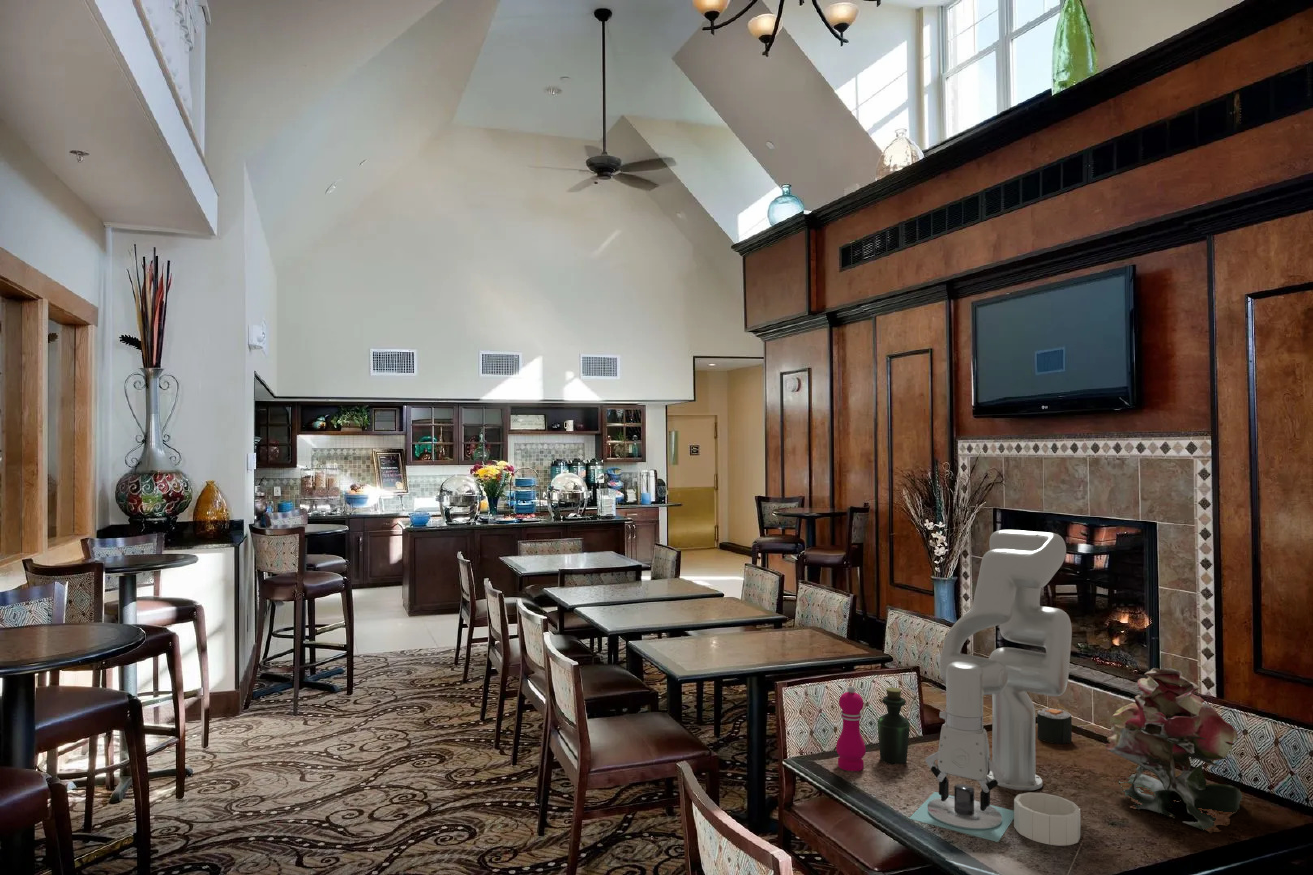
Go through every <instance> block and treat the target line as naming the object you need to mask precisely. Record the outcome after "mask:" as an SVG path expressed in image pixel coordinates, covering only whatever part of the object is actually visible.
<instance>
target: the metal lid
mask: <svg viewBox="0 0 1313 875" xmlns="http://www.w3.org/2000/svg"><path fill="white" fill-rule="evenodd" d="M953 796H954V797H948V798H947V799H946V800H945V801H941V798H938V799H934V800H932V801H930V802H929V803H928V813H929V815H930V816H931V817H933V818H934V819H935V820H937V821H939V822H941V823H943V824H946V825H949V826H952V827H956V828H960V829H966V830H990V829H994V828H996V827H998V826H1000V825H1001V823H1002V816H1001V814H1000V812H999V811H997V810H996V809H995V808H993V807H991V806H989V807H987V808H986V809H985V811H981V810H980V801H978V800H975V788H974V787H973V786H971V785H968V784H963V783H961V784H960V783H958V784H955V785H954V795H953Z"/></svg>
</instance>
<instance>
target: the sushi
mask: <svg viewBox="0 0 1313 875" xmlns="http://www.w3.org/2000/svg"><path fill="white" fill-rule="evenodd" d="M1036 712H1037V720H1036V721H1037V734H1036V735H1037V736H1036V737H1037V739H1038V740H1039V741H1043V740H1045V741H1044V742H1046V741H1047V742H1046V743H1049V742H1051V743H1050V744H1054V743H1057V744H1056V745H1060V744H1061V745H1064V744H1070V743H1072V742H1073V741H1072V740H1073V739H1072V737H1073V735H1072V734H1073V731H1072V729H1073V728H1072V726H1073V725H1072V724H1073V722H1072V721H1073V720H1072V718H1073V717H1072V714H1071V713H1069V712H1067V711H1066V710H1063V709H1062V708H1060V709H1058V708H1057V709H1056V708H1050V707H1049V708H1042V710H1040V709H1038V710H1036Z"/></svg>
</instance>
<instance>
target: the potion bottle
mask: <svg viewBox="0 0 1313 875" xmlns="http://www.w3.org/2000/svg"><path fill="white" fill-rule="evenodd" d="M885 689H886V690H885V691H886V694H887V695H885V696H883V697H882V699H881V700H882V701H881V703H882V704H883V705H885V706H886V709H887V713H885V714H883V715H881V716H879V717H878V719H877V722H876V723H877V736H878V746H879V747H878V748H879V758H880V760H881V761H882V762H883V763H886V764H888V765H892V766H893V765H894V766H895V765H900V764H901V765H902V764H906V763H907V761H908V760H907V759H908V751H909V750H908V749H909V740H910V739H909V738H910V731H911V730H910V728H911V724H910V723H911V722H910V721H909V720H908V718H906V717H905V716H903V715H902V714H900V713H901V709H902V707H903V706H906V705H907V704H906V700H905V699H904V698H903V697H901V695H902V689H901V688H897V687H886V688H885Z"/></svg>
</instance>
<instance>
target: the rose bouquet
mask: <svg viewBox="0 0 1313 875" xmlns="http://www.w3.org/2000/svg"><path fill="white" fill-rule="evenodd" d="M1182 674H1183V673H1182V671H1181V670H1178V669H1174V668H1167V667H1165V668H1159V667H1153V668H1151V669H1150V670H1149V671H1146V672H1145V673H1144V675H1145V676H1147V677H1142V678H1139V679H1138V680H1137V687H1138V688H1137V689H1138V690H1140V691H1142V695H1141V694H1138V695H1136V696H1134V702H1131V703H1128V704H1126V705H1124V706H1122V707H1120V708H1119V709H1117V710H1115V712H1114V714H1112V715H1111V716H1110V718H1109V721H1110V723H1113V726H1112V727H1111V729H1110V732H1111V734H1113V735H1111V736H1109V737H1107V738H1106V740H1107V741H1108V743H1105V745H1104V747H1105V749H1106V751H1108V752H1111V753H1112V754H1115V755H1117V756H1119V757H1121V758H1123V759H1125V760H1127V761H1129V762H1132V763H1133V764H1136V765H1138V766H1137V767H1136V768H1135V771H1136V773H1134V774H1133V773H1132V774H1131V775H1130V776H1129V777H1127V778H1128V779H1130V780H1129V781H1128V782H1127V783H1130V784H1132V786H1131V787H1130V788H1129V789H1126V790H1124V791H1122V790H1121V793H1122V792H1125V796H1130V797H1132V798H1133V799H1135V800H1138V802H1140V803H1142V805H1139V804H1136V803H1134V804H1135V805H1134V806H1136V809H1138V810H1148V811H1151V812H1154V813H1156V814H1160V813H1161V814H1160V815H1162V814H1164V815H1163V816H1165V815H1167V816H1166V817H1168V816H1169V815H1172V817H1177V816H1176V814H1173V813H1171V812H1170V811H1168V810H1167V808H1168V809H1172V808H1171V807H1173V808H1174V805H1175V802H1174V801H1173V800H1176V801H1180V800H1181V803H1184V804H1186V805H1185V806H1186V812H1187V813H1188V814H1189V815H1191V816H1193V817H1194V819H1195V820H1197V821H1195V822H1194V821H1186V820H1185V821H1183V824H1186V825H1189V826H1191V827H1194V828H1197V829H1200V830H1202V829H1203V830H1202V831H1204V829H1208V828H1209V827H1212V826H1214V822H1213V821H1215V820H1216V818H1213V817H1212V816H1211V815H1207V814H1204V813H1201V811H1200V810H1199V809H1198V808H1202V809H1212V810H1217V811H1223V812H1232V813H1233V812H1236V811H1237V810H1238V809H1239V810H1240V803H1241V802H1242V800H1243V795H1242V792H1241V790H1240V787H1239V788H1238V787H1236V786H1233V785H1231V784H1222V783H1221V784H1220V783H1213V784H1209V783H1208V784H1207V780H1206V778H1205V775H1204V772H1203V765H1204V764H1200V765H1198V766H1196V767H1194V768H1193V769H1191V766H1192V763H1191V760H1190V758H1192V759H1196V760H1199V761H1201V762H1204V763H1205V764H1207V765H1209V766H1213V767H1215V768H1221V769H1223V770H1225V767H1223V766H1222V765H1220V764H1217V763H1216V762H1213V761H1222V760H1224V759H1225V760H1229V759H1230V760H1232V757H1227V756H1228V753H1229V752H1231V750H1232V749H1233V746H1235V743H1234V742H1238V737H1239V735H1238V731H1237V729H1235V728H1234V726H1233V725H1231V723H1228V722H1227V721H1226V720H1225V719H1224V718H1223V717H1222V715H1220V714H1219V713H1218V710H1216V708H1214V706H1211V705H1210V704H1207V703H1205V699H1204V698H1202V697H1201V695H1196V694H1194V693H1195V692H1197V691H1198V690H1199V689H1200V686H1198V685H1197V684H1196V683H1195V682H1192V681H1188V679H1187V678H1185V677H1184V676H1182ZM1175 763H1176V764H1179V765H1180V766H1181V768H1182V772H1181V774H1180V775H1177V776H1176V769H1175V765H1176V764H1175ZM1145 771H1148V772H1150V773H1153V774H1154V775H1155V776H1156V777H1157V778H1155V777H1152V776H1150V775H1146V774H1144V772H1145ZM1119 783H1124V782H1120V780H1119V781H1118V784H1119ZM1125 783H1126V782H1125ZM1121 787H1122V786H1120V788H1121ZM1136 787H1143V788H1147V790H1149V789H1150V790H1151V791H1152V792H1154V795H1150V794H1145V793H1141V792H1144V791H1143V790H1141V789H1140V788H1136ZM1151 791H1149V792H1151ZM1153 796H1155V797H1153ZM1240 801H1241V802H1240Z"/></svg>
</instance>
